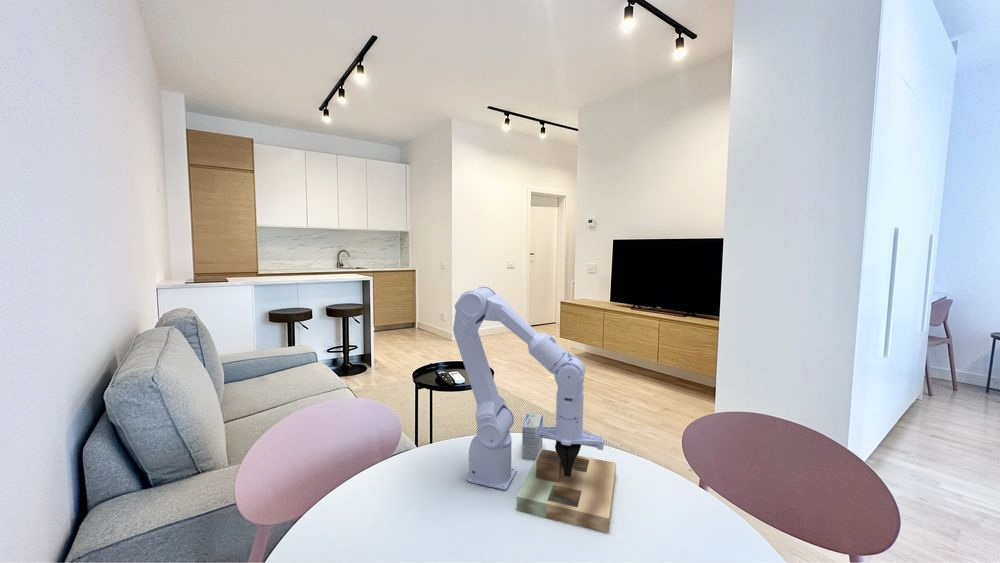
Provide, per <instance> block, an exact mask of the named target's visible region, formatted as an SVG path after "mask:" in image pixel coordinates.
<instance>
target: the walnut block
mask: <svg viewBox="0 0 1000 563" xmlns="http://www.w3.org/2000/svg"><path fill="white" fill-rule="evenodd" d="M543 449H544V448H542V450H541V452H540V454H539V456H538V458H537V460H536V478H538V479H543V480H547V481H552V482H557V483H559V481H560V478H561V475H562V472H563V466H562V463H561V460H560V458H559V455H558V454H557V452H553V451H554V450H552V451H548V450H549V449H546V450H543Z"/></svg>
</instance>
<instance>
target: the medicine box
mask: <svg viewBox="0 0 1000 563" xmlns="http://www.w3.org/2000/svg"><path fill="white" fill-rule="evenodd" d="M543 420H544V419H543V414H538V413H537V414H535V413H526V416H525V418H524V423H523V425H522V427H521V428H522V432H521V433H522V435H521V438H522V439H521V440H522V444H521V449H522V452H521V453H522V454H521V455H522V457H521V458H522V459H525V460H532V461H535V460H536V458H537V456H538V454H539V452H540V450H541V449H543V438H540V439H537V438H535V430H536V428H537V426H540V427H544V426H543V425H544V424H543V423H544V421H543Z"/></svg>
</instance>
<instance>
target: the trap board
mask: <svg viewBox="0 0 1000 563" xmlns="http://www.w3.org/2000/svg"><path fill="white" fill-rule="evenodd" d="M542 449H543V450H548V451H553V452H556V450H552V449H545V448H542ZM542 449H541V450H542ZM541 450H540V452H541ZM540 452H539V454H540ZM539 454H538V456H539ZM538 456H537V458H538ZM537 458H536V460H537ZM536 460H534V462H533V463H532V466H531V468H530V469H529V471H528V473H527V476H526V478H525V480H524V482H523V484H522V486H521V488H520V490H519V492H518V494H517V495H516V511H517V512H522V513H526V514H529V515H533V516H536V517H541V518H545V519H549V520H554V521H557V522H562V523H565V524H570V525H573V526H576V527H577V526H578V527H581V528H585V529H589V530H593V531H596V532H597V531H598V532H601V533H604V534H609V532H610V525H611V515H612V508H613V499H614V491H615V483H616V474H617V473H616V472H617V470H616V469H617V462H612V461H610V460H603V459H599V458H592V457H588V456H582V455H579V454H578V455H577V457H576V459H575V461H574V463H573V467H572V473H571V476H570V477H567V476H564V471H563V472H562V475H561V478H560V481H559V483H557V482H552V481H547V480H543V479H538V478H536Z"/></svg>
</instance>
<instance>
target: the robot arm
mask: <svg viewBox="0 0 1000 563" xmlns="http://www.w3.org/2000/svg"><path fill="white" fill-rule="evenodd" d="M454 309H455V313H454V321H453V328H452V332H453V335H454V338H455V342H456V344H457V348H458V351H459V354H460V356H461V359H462V362H463V366H464V368H465V371H466V372H465V373H466V375H467V378H468V381H469V384H470V387H471V391H472V393H473V395H474V399H475V402H476V403H475V404H476V411H475V422H476V435H474V436H473V438H472V440H471V441H470V444H469V449H468V477H467V479H466V481H467V482H468V483H473V484H477V485H482V486H485V487H489V488H493V489H498V490H503V491H507V490H508V488H509V487H510V485H511V483H512V481H513V479H514V477H515V475H516V473H517V470H518V469H516V468H512V443H513V442H512V436H511V433H510V429H511V428H512V427H513V425H514V423H515V416H514V413H513V411H512V410H511V409H510V408H509V406H508V405H507V403H506V401H505V398H503V397H502V396H501V395H500V394H499V392H498V390H497V385H496V383H495V379H494V376H493V373H492V371H491V367H490V364H489V361H488V358H487V355H486V353H485V350H484V349H485V348H484V346H483V343H482V341H481V338H480V333H479V329H480V328H481V326H482V324H483V322H484V321H490V322H500V324H502V325H504V326H505V327H506V328H507V329H508V330H509V331H511V332H512V333H513V334H514V335H515V336H516V337H518V338H519V339H520V340H522V341H523V342H524V343H525V344H526V345H527V346H528V348H527V349H528V353H529V354H530V356H532V357H533V358H534V359H535V360H536V361H537V362H539V364H541V366H543V367H544V368H545V369H546V370H547V371H548V373H550V374H553V375H554V381H555V383H556V385H557V391H556V401H555V402H556V405H555V407H556V410H555V426H543V427H540V426H537V428H536V430H535V438H537V439H540V438H542V439H547V440H553V441H555V445H554V449H555V450H554V451H556V452H557V454H558V455H559V458H560V460H561V463H562V466H563V471H564V476H567V477H570V476H571V473H572V467H573V463H574V461H575V459H576V457H577V455H578V456H579V453H580V451H581V448H582V446H586V447H592V448H596V449H597V450H599V451H604V445H605V444H604V443H605V437H603V436H599V435H595V434H593V433H590V432H587V431H584V426H583V424H584V400H585V399H584V397H585V396H584V381H585V378H584V377H585V374H586V367H585V364H584V362H583V360H582V359H581V358H580V357H579V356H578V355H575V354H574V353H573V352H571V351H567V350H566V349H565V348H564V347H562V346H561V345H560V344H559V343H558V342H557V341H556V340H557V337H556V336H554V335H553V334H552V335H549V334H548V333H546V332H544V333H542V332H537V331H536V330H535V329H534V327H532V326H531V325H530V324H529V323H528V322H527V321H526V320H525V319H524V318H523V317H522V316H521V315H520V314H519V313H518V312H517V311H516V310H515V309H514V308H513V306H511V305H510V304H509V303H508V302H507V301H506V300H505V298H503V297H502V296H501V295H500V294H499V293H496V292H495V291H494V289H492V288H491V287H489V286H479V287H478V288H475V289H471V290H467V291H465V292H463V293H462V294H461V295H460V297H459V298H458V300H457V301H456V302H455V304H454Z"/></svg>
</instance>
